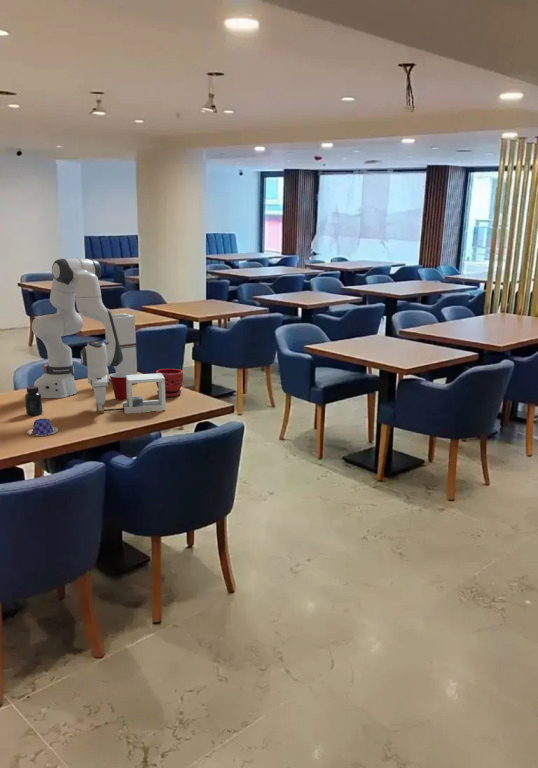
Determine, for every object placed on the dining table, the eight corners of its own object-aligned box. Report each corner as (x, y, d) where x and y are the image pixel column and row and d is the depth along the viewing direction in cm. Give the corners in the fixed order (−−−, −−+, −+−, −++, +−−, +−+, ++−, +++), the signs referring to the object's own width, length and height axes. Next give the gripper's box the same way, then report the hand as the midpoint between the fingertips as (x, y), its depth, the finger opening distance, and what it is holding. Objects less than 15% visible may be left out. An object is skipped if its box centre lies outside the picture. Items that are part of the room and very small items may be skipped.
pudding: (20, 434, 276) (19, 422, 274) (42, 426, 286) (41, 414, 285) (43, 439, 271) (42, 426, 269) (64, 430, 281) (63, 418, 280)
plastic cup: (136, 395, 333) (135, 371, 330) (129, 401, 322) (128, 376, 319) (114, 395, 334) (113, 370, 331) (107, 401, 323) (105, 376, 320)
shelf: (124, 413, 304) (123, 380, 300) (122, 407, 313) (121, 375, 309) (165, 410, 309) (164, 378, 305) (162, 404, 318) (161, 373, 314)
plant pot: (181, 398, 329) (181, 373, 326) (154, 398, 329) (153, 373, 326) (184, 391, 342) (184, 367, 339) (158, 391, 342) (157, 367, 339)
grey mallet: (97, 414, 302) (96, 403, 301) (96, 410, 308) (95, 399, 307) (143, 410, 308) (142, 399, 307) (141, 407, 313) (141, 396, 312)
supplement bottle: (46, 412, 304) (44, 386, 301) (36, 416, 298) (34, 390, 295) (33, 411, 307) (30, 384, 304) (22, 415, 300) (20, 388, 297)
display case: (127, 379, 364) (125, 313, 356) (137, 383, 356) (134, 316, 348) (107, 382, 357) (104, 315, 349) (117, 386, 349) (114, 318, 341)
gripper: (89, 373, 310) (91, 403, 314) (92, 384, 291) (93, 415, 295) (104, 372, 312) (105, 402, 316) (107, 383, 293) (109, 414, 297)
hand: (99, 408), depth 305 cm, fingers closed on grey mallet, 3 cm apart
